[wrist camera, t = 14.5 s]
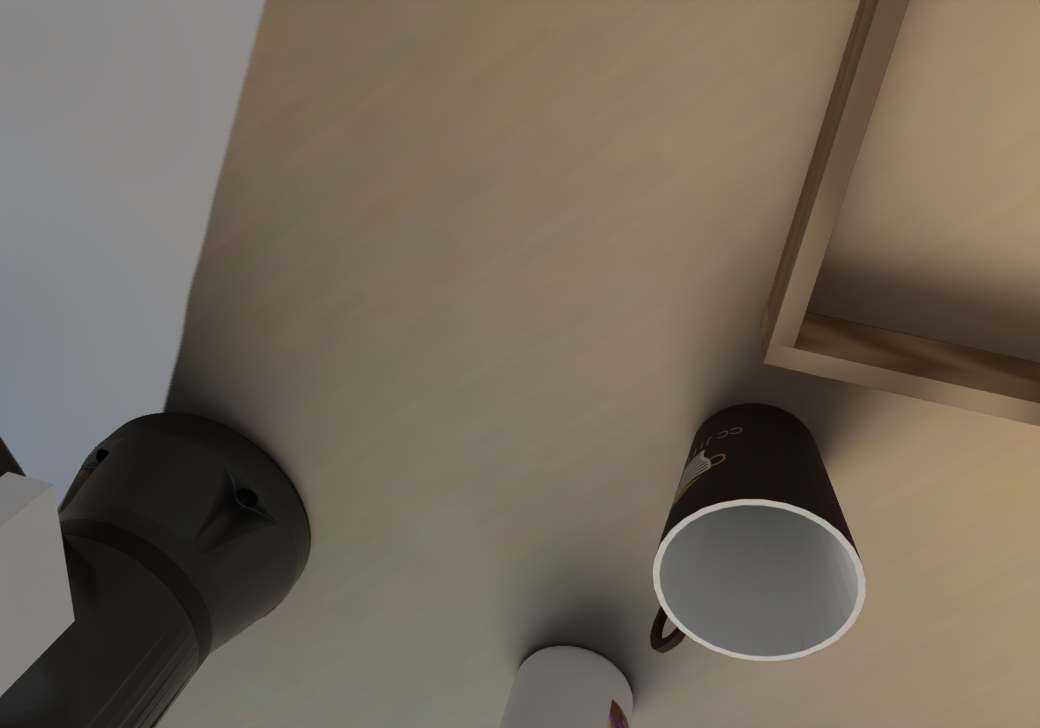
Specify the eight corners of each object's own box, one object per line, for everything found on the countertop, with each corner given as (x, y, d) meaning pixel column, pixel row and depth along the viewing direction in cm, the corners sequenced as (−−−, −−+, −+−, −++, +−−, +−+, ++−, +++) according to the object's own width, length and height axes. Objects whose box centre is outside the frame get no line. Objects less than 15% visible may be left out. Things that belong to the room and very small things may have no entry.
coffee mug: (793, 356, 41) (807, 469, 33) (869, 490, 43) (902, 628, 35) (592, 445, 46) (557, 563, 37) (670, 561, 48) (654, 698, 40)
